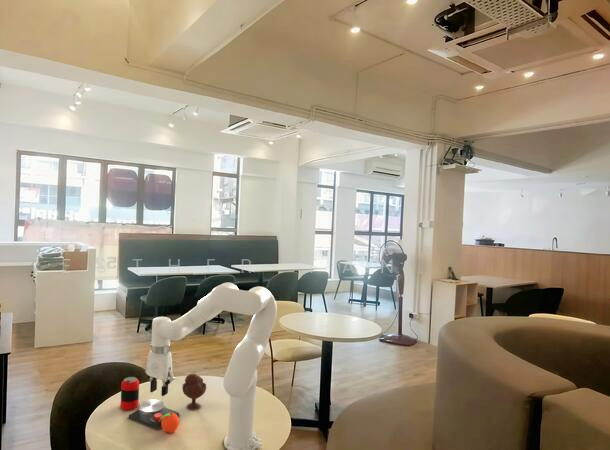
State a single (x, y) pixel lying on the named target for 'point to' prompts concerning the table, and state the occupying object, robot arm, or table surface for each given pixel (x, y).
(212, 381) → the table surface
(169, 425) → the clementine
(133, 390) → the soda can
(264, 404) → the table surface
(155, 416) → the button
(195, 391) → the ice cream bowl
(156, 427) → the scale
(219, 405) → the table surface
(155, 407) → the pan
